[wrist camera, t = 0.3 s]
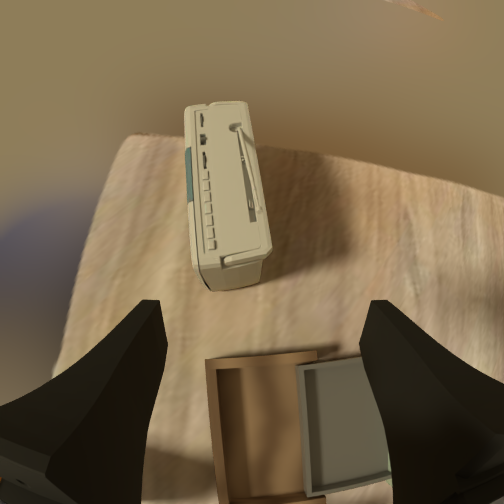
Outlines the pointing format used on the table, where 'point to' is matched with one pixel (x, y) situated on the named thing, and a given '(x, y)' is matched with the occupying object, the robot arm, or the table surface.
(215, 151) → the stereo radio cassette player
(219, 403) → the wooden box
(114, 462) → the robot arm
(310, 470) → the drawer
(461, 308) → the table surface
